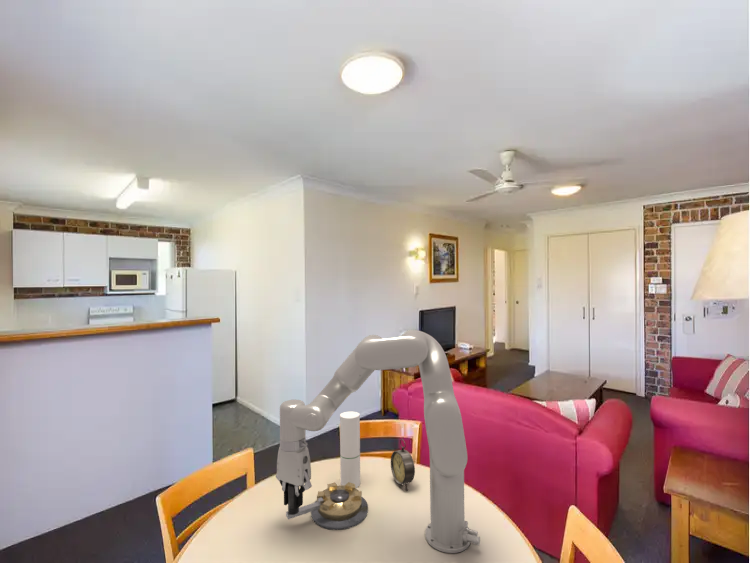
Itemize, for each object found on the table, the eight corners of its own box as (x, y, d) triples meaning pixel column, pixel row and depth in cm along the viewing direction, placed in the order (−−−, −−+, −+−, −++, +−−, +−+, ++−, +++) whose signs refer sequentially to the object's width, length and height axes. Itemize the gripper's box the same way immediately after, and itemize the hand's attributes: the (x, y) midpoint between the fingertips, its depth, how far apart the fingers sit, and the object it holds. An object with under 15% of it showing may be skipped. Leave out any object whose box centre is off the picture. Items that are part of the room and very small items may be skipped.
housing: (378, 504, 119) (378, 500, 119) (346, 537, 103) (346, 533, 103) (333, 489, 128) (333, 486, 128) (299, 518, 112) (299, 514, 112)
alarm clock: (389, 479, 135) (389, 435, 135) (402, 475, 137) (402, 432, 137) (404, 494, 125) (403, 446, 125) (418, 490, 127) (417, 443, 127)
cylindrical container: (361, 479, 135) (360, 411, 135) (358, 489, 128) (358, 418, 128) (342, 478, 136) (342, 411, 136) (338, 488, 128) (338, 418, 129)
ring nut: (350, 489, 125) (349, 457, 125) (369, 510, 113) (369, 475, 113) (280, 511, 113) (280, 475, 114) (294, 537, 101) (293, 498, 101)
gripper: (322, 443, 108) (323, 506, 108) (281, 433, 116) (282, 491, 116) (305, 454, 101) (306, 520, 101) (263, 442, 110) (264, 503, 109)
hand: (293, 504), depth 108 cm, fingers closed on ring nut, 3 cm apart
